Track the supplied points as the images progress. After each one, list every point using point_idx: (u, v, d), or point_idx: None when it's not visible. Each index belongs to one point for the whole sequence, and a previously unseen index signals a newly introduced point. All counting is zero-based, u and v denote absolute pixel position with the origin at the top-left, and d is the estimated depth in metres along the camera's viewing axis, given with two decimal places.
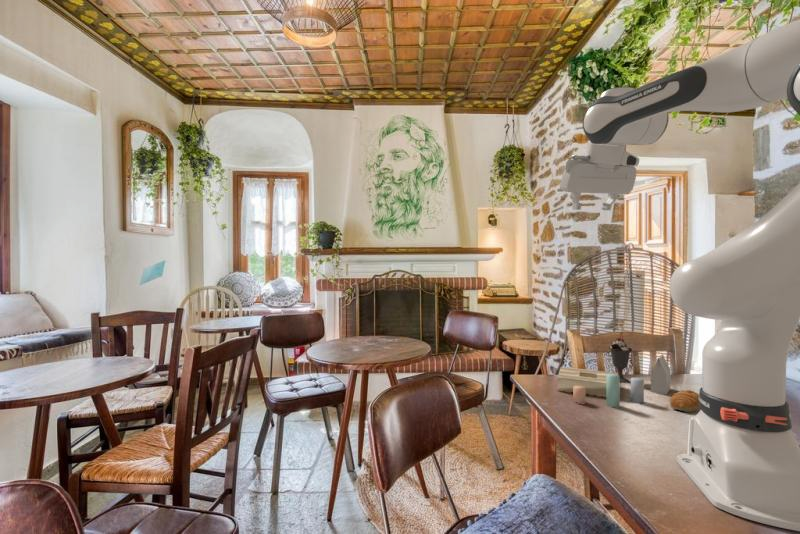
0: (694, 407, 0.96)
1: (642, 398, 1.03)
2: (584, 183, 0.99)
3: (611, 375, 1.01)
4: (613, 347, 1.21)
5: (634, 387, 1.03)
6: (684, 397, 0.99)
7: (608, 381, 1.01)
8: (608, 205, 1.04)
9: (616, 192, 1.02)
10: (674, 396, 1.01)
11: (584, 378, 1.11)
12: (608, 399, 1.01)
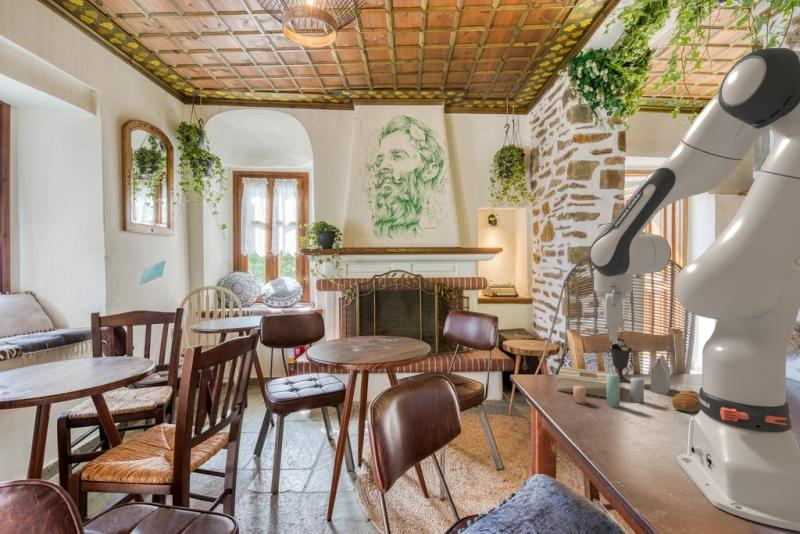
0: (697, 407, 0.96)
1: (642, 398, 1.03)
2: None
3: (611, 375, 1.01)
4: (613, 347, 1.21)
5: (634, 387, 1.03)
6: (686, 397, 0.98)
7: (608, 381, 1.01)
8: None
9: None
10: (676, 396, 1.01)
11: (584, 378, 1.11)
12: (608, 399, 1.01)
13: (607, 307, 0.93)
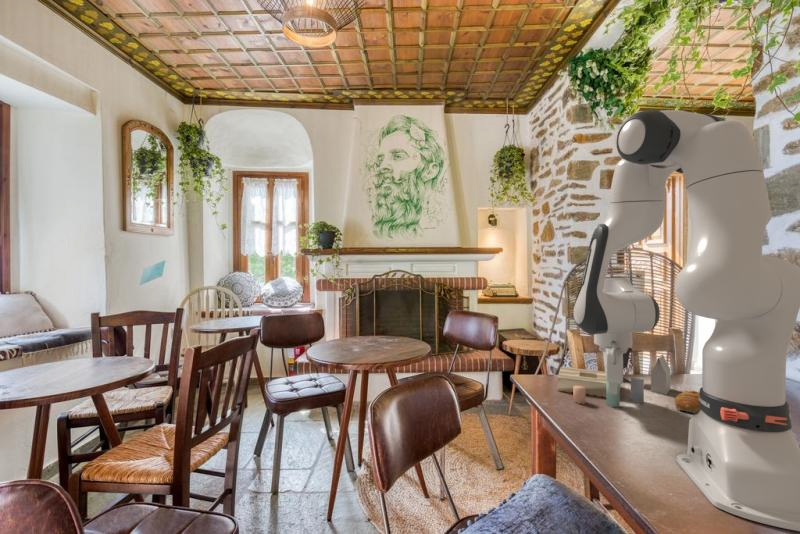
0: None
1: (642, 398, 1.03)
2: None
3: None
4: None
5: (634, 387, 1.03)
6: (689, 398, 0.98)
7: None
8: None
9: None
10: (679, 397, 1.00)
11: (584, 378, 1.11)
12: (608, 399, 1.01)
13: (607, 365, 0.93)
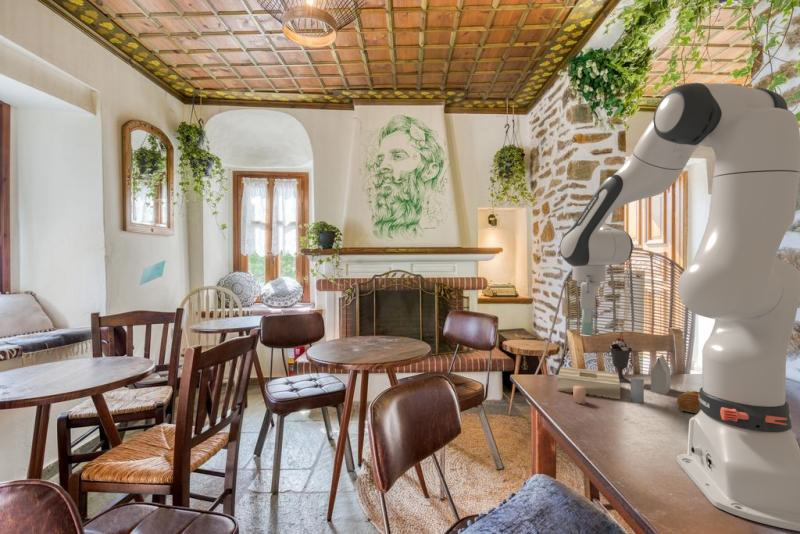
0: None
1: (642, 398, 1.03)
2: None
3: None
4: (613, 347, 1.21)
5: (634, 387, 1.03)
6: (692, 398, 0.98)
7: (583, 312, 1.14)
8: None
9: None
10: (681, 397, 1.00)
11: (584, 378, 1.11)
12: (583, 328, 1.14)
13: (582, 294, 1.06)
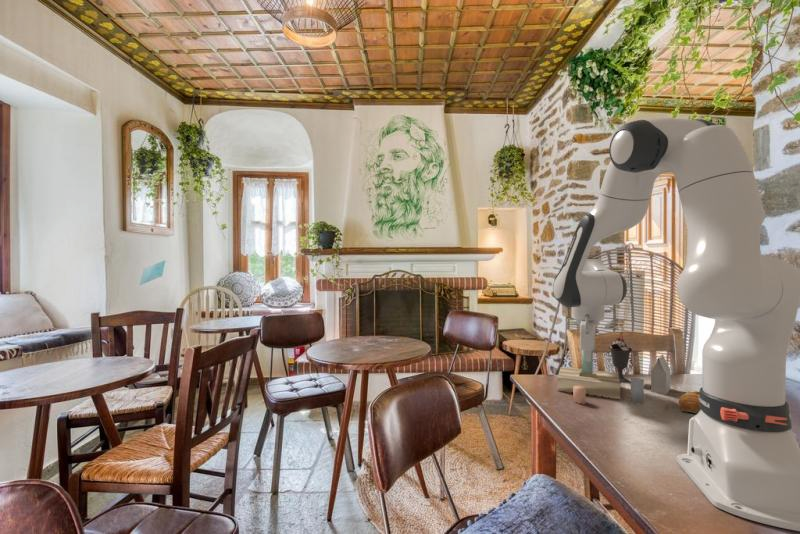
0: None
1: (642, 398, 1.03)
2: None
3: None
4: (613, 347, 1.21)
5: (634, 387, 1.03)
6: (694, 399, 0.98)
7: None
8: None
9: None
10: (683, 398, 1.00)
11: (584, 378, 1.11)
12: (583, 366, 1.14)
13: (581, 334, 1.07)
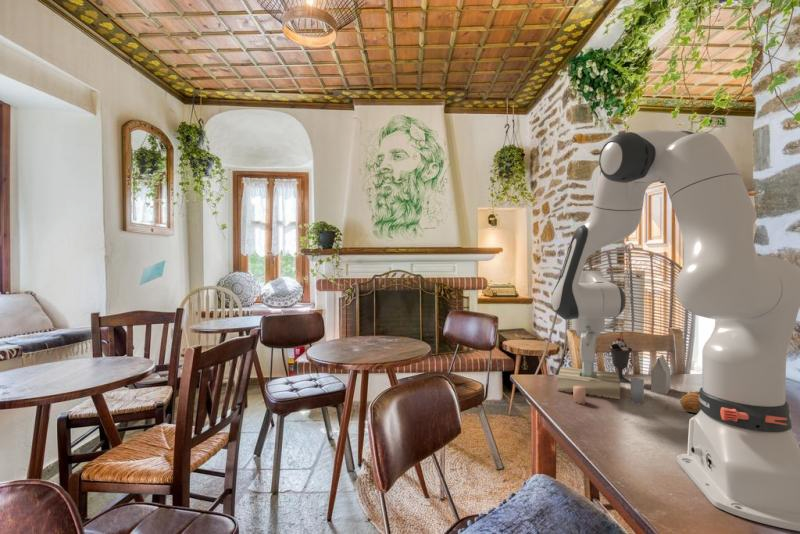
0: None
1: (642, 398, 1.03)
2: None
3: None
4: (613, 347, 1.21)
5: (634, 387, 1.03)
6: (696, 399, 0.97)
7: (583, 367, 1.14)
8: None
9: None
10: (685, 398, 0.99)
11: (584, 378, 1.11)
12: None
13: (581, 346, 1.06)
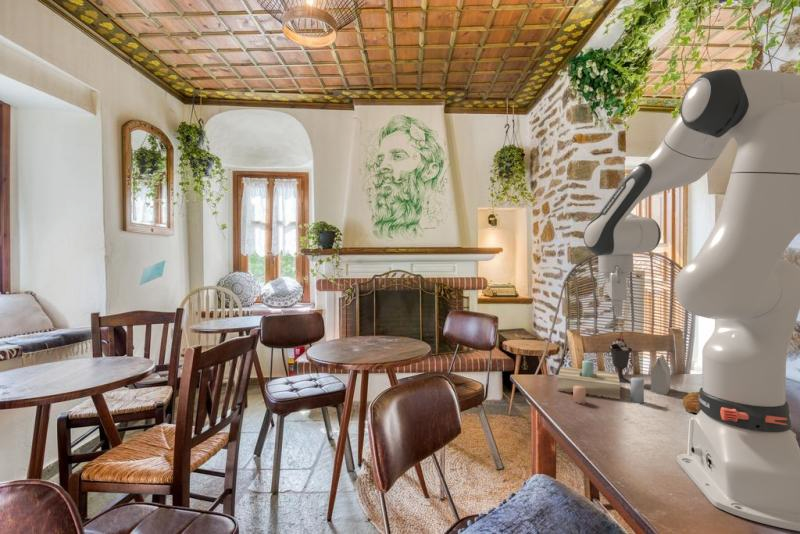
0: None
1: (642, 398, 1.03)
2: None
3: (586, 361, 1.14)
4: (613, 347, 1.21)
5: (634, 387, 1.03)
6: (698, 399, 0.97)
7: (583, 367, 1.14)
8: None
9: None
10: (687, 398, 0.99)
11: (584, 378, 1.11)
12: None
13: (612, 284, 1.03)
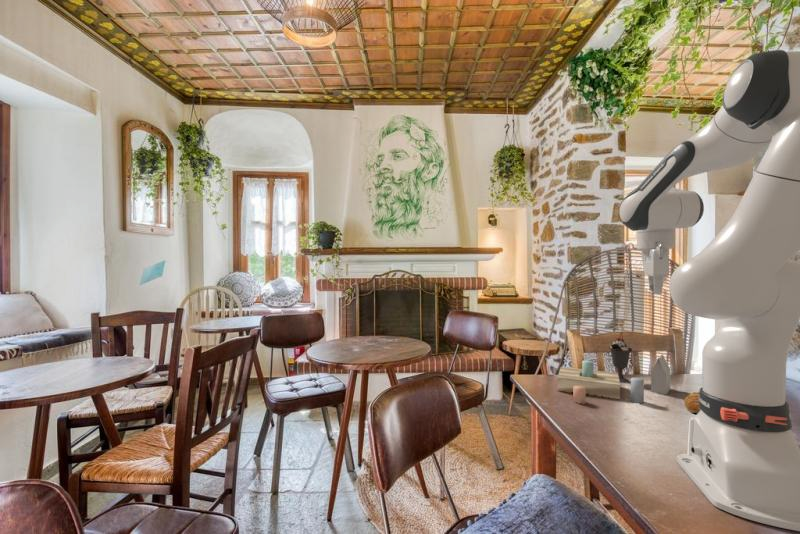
0: None
1: (642, 398, 1.03)
2: None
3: (586, 361, 1.14)
4: (613, 347, 1.21)
5: (634, 387, 1.03)
6: None
7: (583, 367, 1.14)
8: None
9: None
10: (689, 399, 0.99)
11: (584, 378, 1.11)
12: None
13: (654, 260, 0.99)
